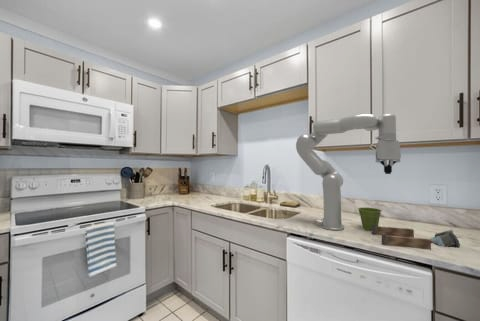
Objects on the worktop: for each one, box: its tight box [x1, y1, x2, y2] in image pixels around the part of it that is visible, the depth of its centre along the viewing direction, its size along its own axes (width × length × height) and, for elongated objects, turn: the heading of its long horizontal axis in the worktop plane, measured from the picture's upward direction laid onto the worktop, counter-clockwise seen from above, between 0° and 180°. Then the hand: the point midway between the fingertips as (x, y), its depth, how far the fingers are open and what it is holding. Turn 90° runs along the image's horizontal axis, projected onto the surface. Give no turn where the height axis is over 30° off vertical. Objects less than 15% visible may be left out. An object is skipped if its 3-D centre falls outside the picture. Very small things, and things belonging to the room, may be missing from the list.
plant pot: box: [357, 206, 383, 232], centre depth 122 cm, size 12×12×11 cm
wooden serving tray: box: [371, 224, 432, 250], centre depth 103 cm, size 18×17×5 cm
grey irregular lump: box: [429, 229, 461, 248], centre depth 99 cm, size 10×7×12 cm
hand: (387, 173), depth 110 cm, fingers closed
